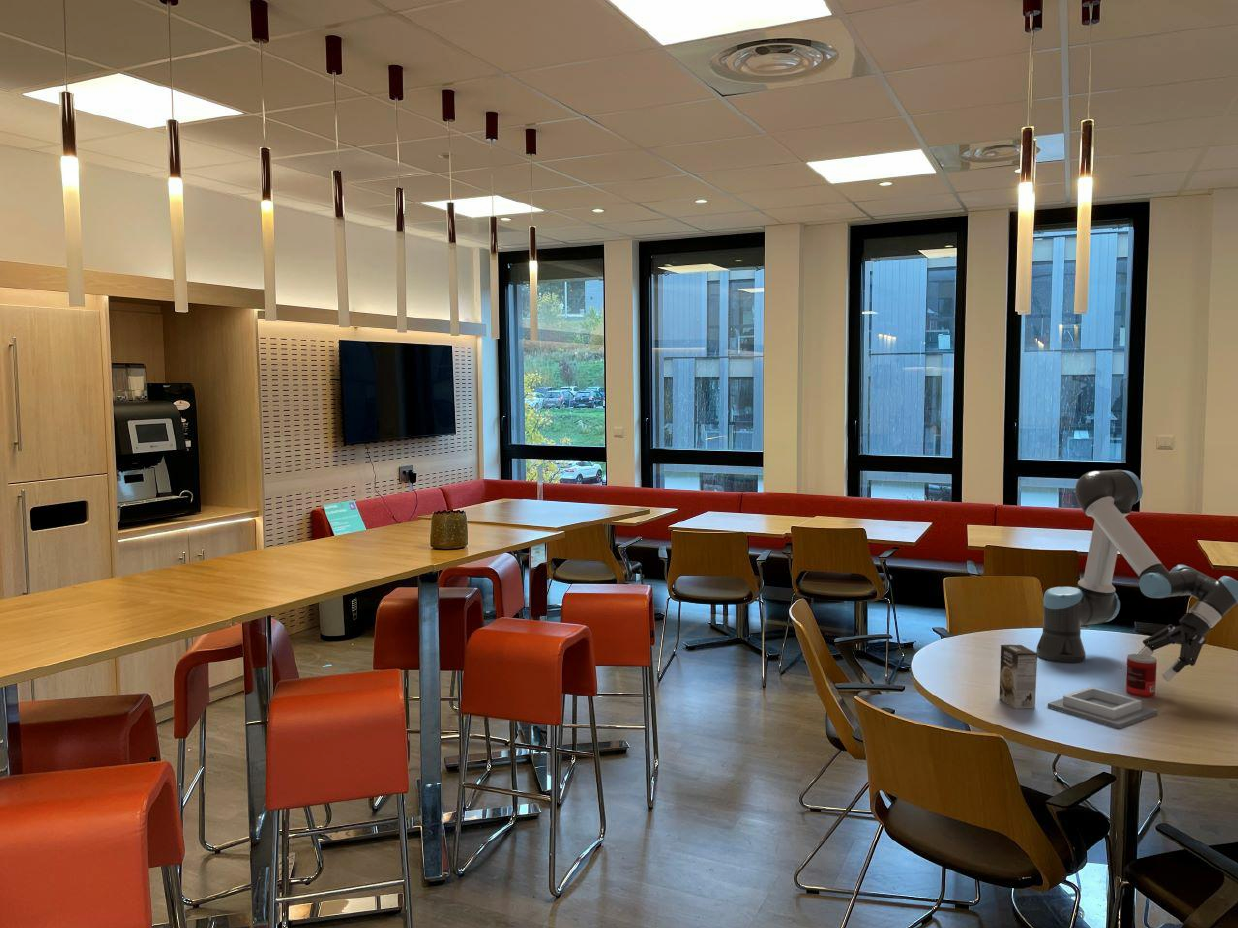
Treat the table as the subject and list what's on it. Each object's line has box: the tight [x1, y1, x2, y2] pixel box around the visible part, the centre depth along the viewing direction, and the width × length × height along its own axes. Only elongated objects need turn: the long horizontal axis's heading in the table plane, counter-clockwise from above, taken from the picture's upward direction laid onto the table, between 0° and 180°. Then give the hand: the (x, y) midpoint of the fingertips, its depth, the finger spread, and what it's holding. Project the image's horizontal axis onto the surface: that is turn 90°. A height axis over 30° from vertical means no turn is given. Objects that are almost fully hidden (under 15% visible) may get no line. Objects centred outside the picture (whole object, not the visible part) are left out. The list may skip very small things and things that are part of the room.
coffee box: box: [999, 644, 1038, 709], centre depth 260 cm, size 9×6×16 cm
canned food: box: [1125, 653, 1157, 698], centre depth 270 cm, size 8×8×11 cm
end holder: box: [1047, 686, 1158, 730], centre depth 254 cm, size 20×20×4 cm
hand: (1149, 671), depth 268 cm, fingers open, 13 cm apart
